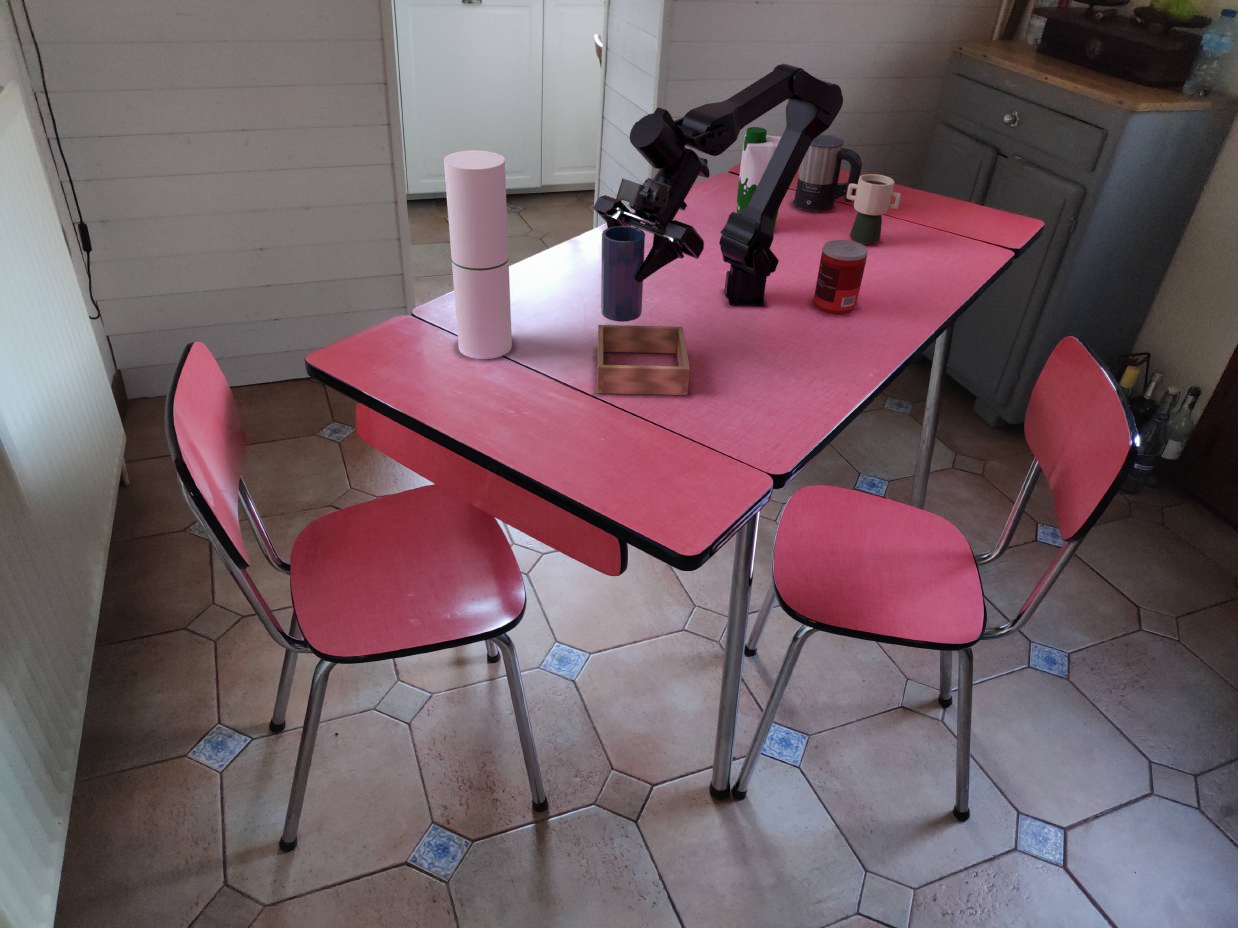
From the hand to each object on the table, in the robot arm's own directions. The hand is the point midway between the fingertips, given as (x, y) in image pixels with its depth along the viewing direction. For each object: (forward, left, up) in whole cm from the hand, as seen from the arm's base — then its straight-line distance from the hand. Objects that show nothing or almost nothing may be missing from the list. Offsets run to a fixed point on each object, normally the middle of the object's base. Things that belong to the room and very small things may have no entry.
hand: (620, 274), depth 136 cm
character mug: (-53, -50, -14) cm, 73 cm away
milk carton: (-31, -57, -14) cm, 66 cm away
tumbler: (0, 0, -7) cm, 7 cm away
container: (+21, -1, -14) cm, 25 cm away
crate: (-4, +6, -13) cm, 15 cm away
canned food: (-40, -19, -14) cm, 46 cm away
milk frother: (-49, -73, -14) cm, 88 cm away
